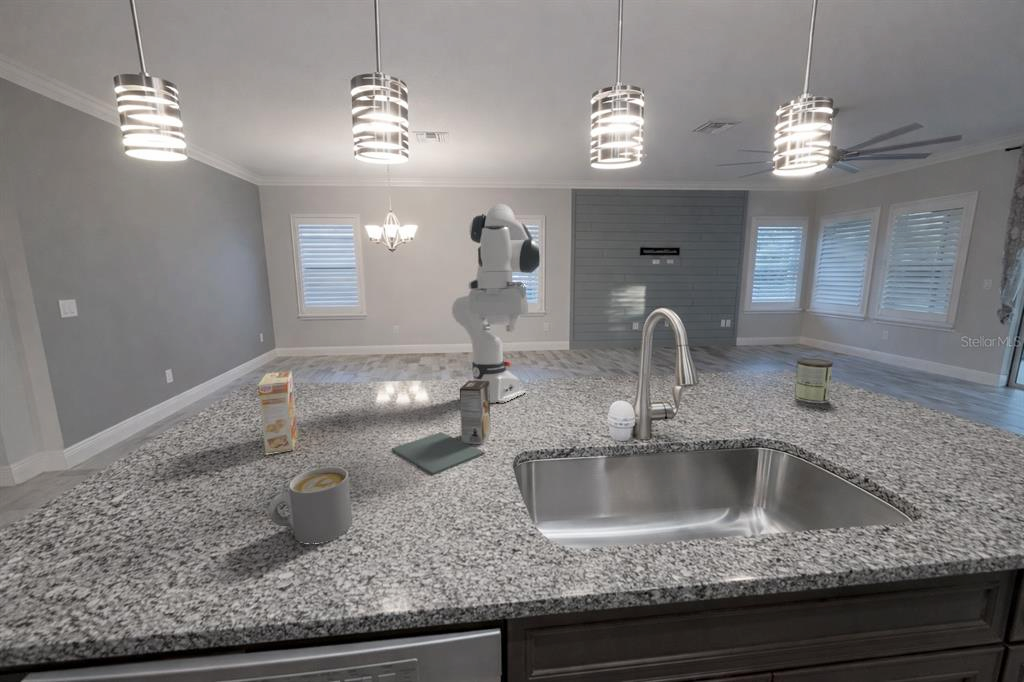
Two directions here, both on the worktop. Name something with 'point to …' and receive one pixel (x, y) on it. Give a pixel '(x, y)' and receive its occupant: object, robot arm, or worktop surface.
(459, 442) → the mat
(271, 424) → the coffeecake box
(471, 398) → the coffee box
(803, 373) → the coffee can
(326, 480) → the coffee mug
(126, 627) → the worktop surface
